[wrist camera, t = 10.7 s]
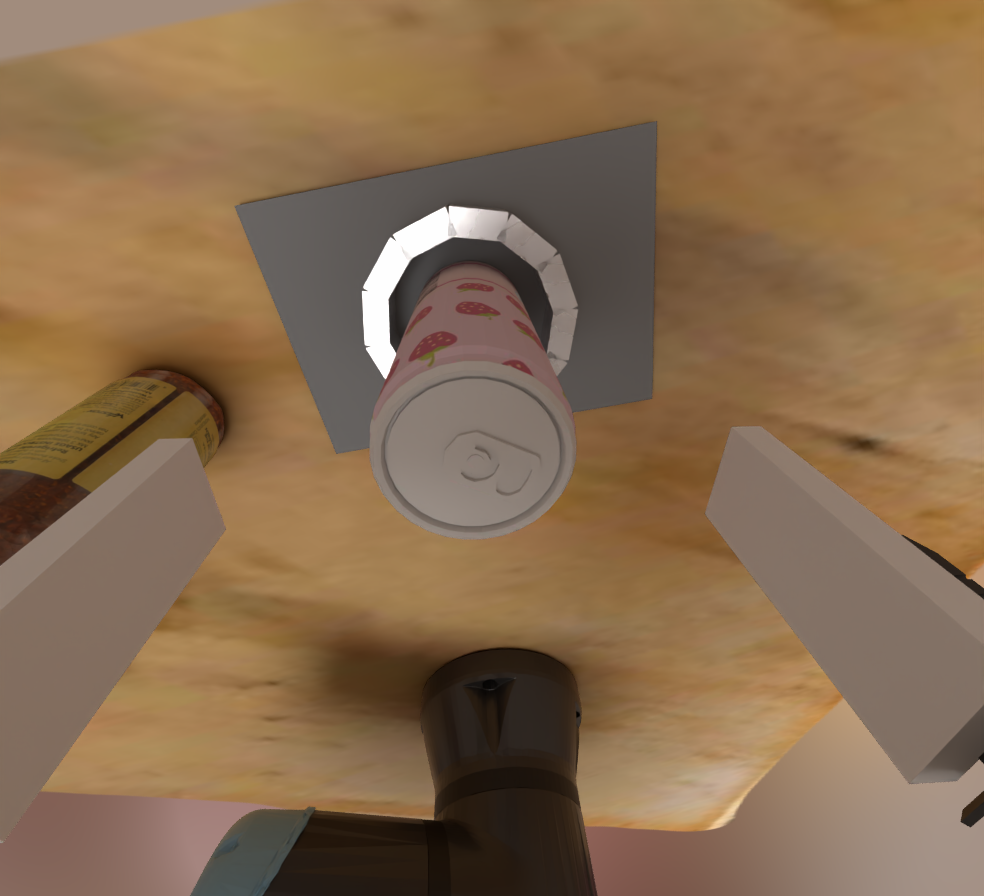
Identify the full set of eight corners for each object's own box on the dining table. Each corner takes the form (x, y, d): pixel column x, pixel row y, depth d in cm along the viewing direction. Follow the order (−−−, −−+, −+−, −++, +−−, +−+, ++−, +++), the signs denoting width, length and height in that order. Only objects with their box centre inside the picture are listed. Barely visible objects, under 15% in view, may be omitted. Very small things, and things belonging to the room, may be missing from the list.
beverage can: (520, 365, 26) (573, 544, 13) (421, 366, 26) (375, 550, 13) (524, 259, 23) (599, 355, 10) (413, 259, 23) (343, 358, 10)
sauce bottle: (102, 417, 27) (-541, 828, 10) (146, 341, 25) (-582, 696, 8) (208, 476, 29) (-154, 887, 12) (256, 412, 27) (-103, 801, 10)
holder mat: (652, 122, 21) (657, 121, 20) (649, 395, 28) (652, 398, 27) (239, 205, 22) (234, 206, 21) (338, 449, 29) (336, 453, 28)
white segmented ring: (604, 289, 24) (618, 300, 22) (492, 431, 28) (494, 452, 26) (439, 155, 20) (436, 152, 18) (339, 339, 25) (326, 353, 22)
